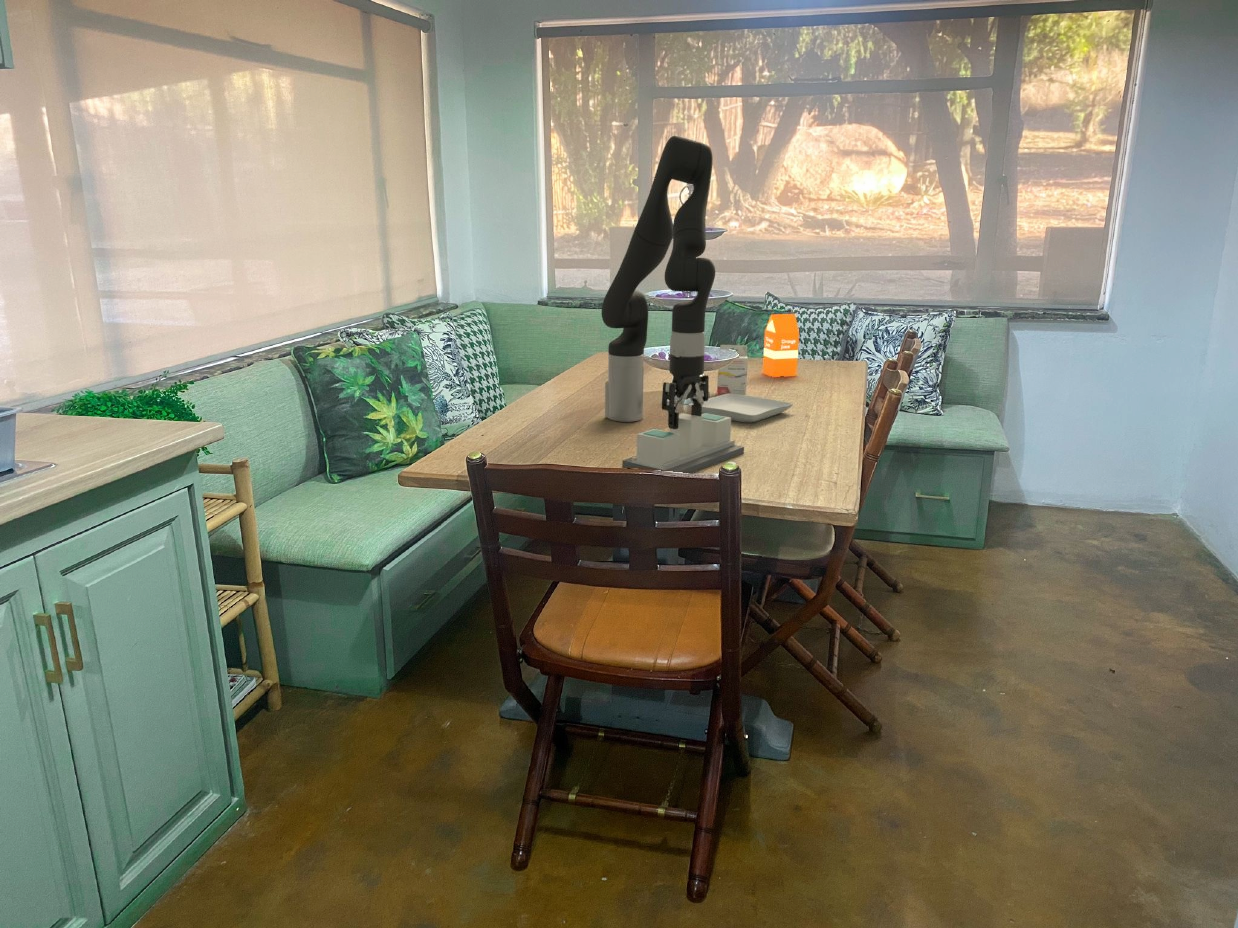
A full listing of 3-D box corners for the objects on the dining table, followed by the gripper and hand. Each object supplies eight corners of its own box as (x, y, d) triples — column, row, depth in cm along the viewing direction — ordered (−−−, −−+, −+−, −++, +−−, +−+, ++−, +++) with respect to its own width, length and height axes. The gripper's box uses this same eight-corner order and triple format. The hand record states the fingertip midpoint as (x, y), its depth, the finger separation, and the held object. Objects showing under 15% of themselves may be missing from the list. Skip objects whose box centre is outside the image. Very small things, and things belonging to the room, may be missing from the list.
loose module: (668, 451, 200) (669, 416, 198) (680, 447, 204) (681, 413, 201) (690, 456, 197) (691, 420, 195) (701, 451, 200) (702, 416, 198)
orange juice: (762, 373, 303) (765, 313, 297) (785, 371, 305) (789, 312, 300) (772, 377, 296) (776, 316, 290) (796, 375, 298) (800, 315, 292)
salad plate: (728, 403, 259) (728, 391, 258) (793, 414, 246) (794, 402, 245) (685, 415, 243) (686, 403, 242) (753, 428, 230) (754, 415, 229)
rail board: (622, 467, 195) (622, 430, 193) (693, 442, 215) (694, 409, 213) (674, 479, 186) (675, 442, 184) (743, 453, 206) (745, 418, 204)
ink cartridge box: (717, 396, 266) (718, 347, 262) (716, 393, 271) (718, 344, 266) (746, 397, 265) (748, 347, 261) (745, 393, 270) (748, 345, 266)
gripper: (692, 346, 201) (689, 416, 206) (653, 354, 191) (651, 428, 195) (720, 350, 197) (716, 422, 201) (682, 358, 186) (679, 434, 191)
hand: (684, 425), depth 198 cm, fingers open, 8 cm apart
